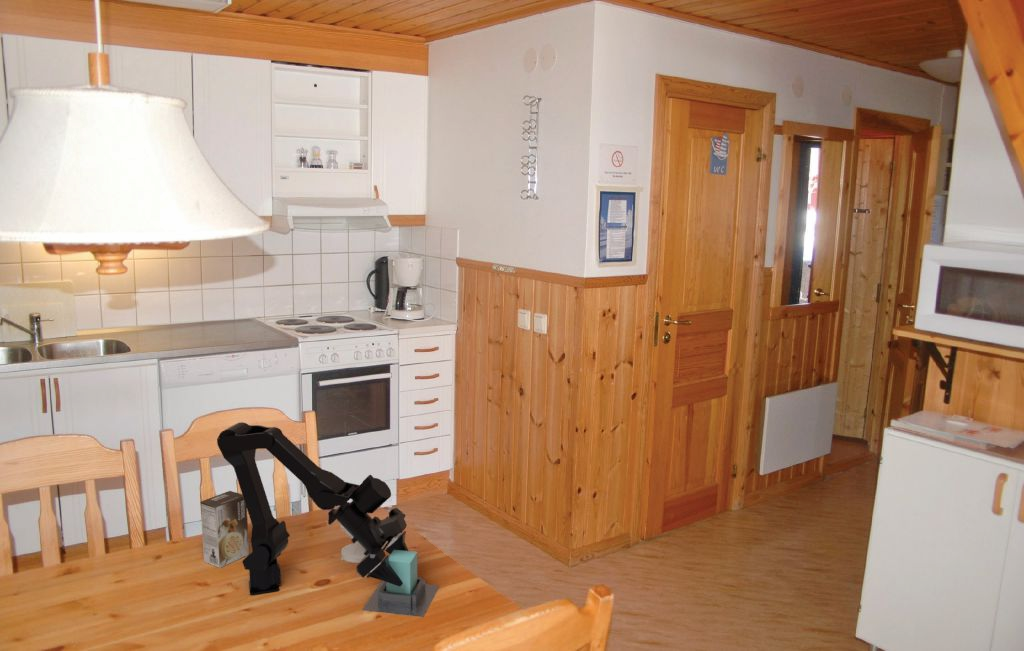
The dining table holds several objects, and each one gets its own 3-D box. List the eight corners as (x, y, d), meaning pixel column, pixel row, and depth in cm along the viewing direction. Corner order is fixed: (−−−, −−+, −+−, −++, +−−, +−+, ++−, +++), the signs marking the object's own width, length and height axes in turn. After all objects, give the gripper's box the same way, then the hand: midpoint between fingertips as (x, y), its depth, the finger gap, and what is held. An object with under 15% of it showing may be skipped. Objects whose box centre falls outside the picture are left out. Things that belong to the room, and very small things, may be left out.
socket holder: (361, 615, 173) (361, 597, 172) (382, 584, 187) (382, 567, 186) (423, 622, 171) (423, 604, 170) (439, 590, 184) (439, 573, 184)
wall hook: (356, 512, 204) (382, 522, 198) (356, 547, 206) (383, 558, 200) (329, 523, 198) (357, 533, 192) (330, 558, 199) (357, 570, 193)
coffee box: (233, 548, 204) (230, 489, 201) (249, 554, 200) (247, 495, 198) (202, 562, 196) (199, 501, 193) (219, 569, 193) (216, 506, 190)
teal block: (386, 602, 176) (386, 560, 175) (394, 590, 182) (393, 549, 180) (410, 604, 175) (410, 562, 174) (417, 592, 181) (417, 551, 179)
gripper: (369, 519, 166) (420, 573, 166) (397, 487, 185) (442, 536, 185) (335, 551, 169) (385, 604, 169) (365, 516, 187) (410, 564, 187)
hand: (407, 575), depth 177 cm, fingers open, 9 cm apart
